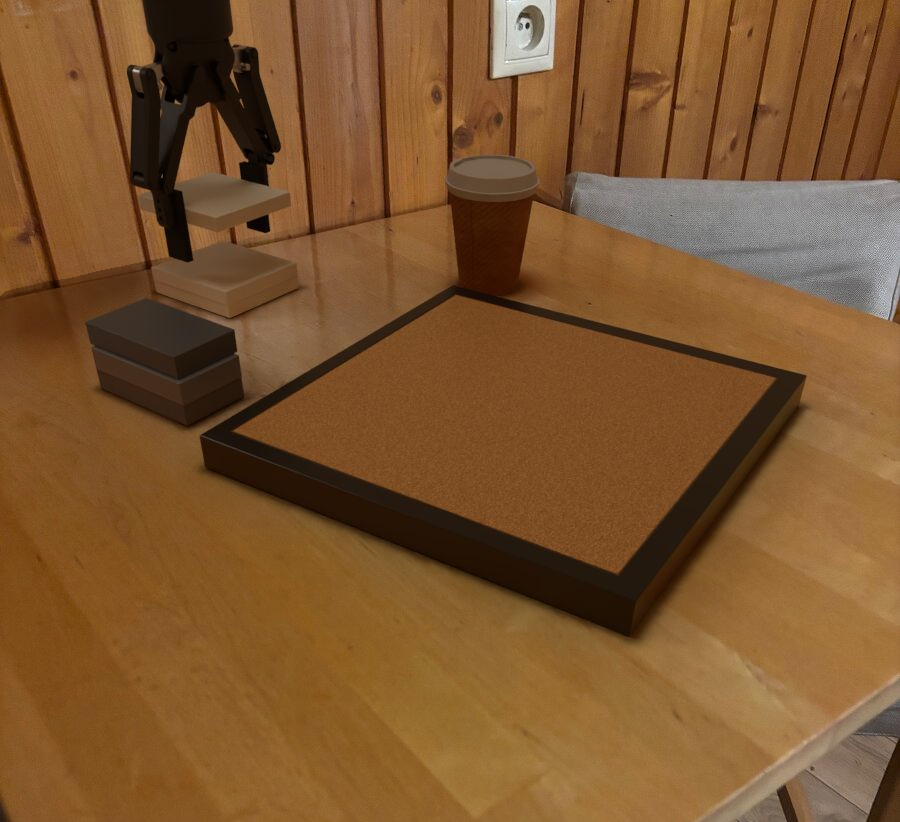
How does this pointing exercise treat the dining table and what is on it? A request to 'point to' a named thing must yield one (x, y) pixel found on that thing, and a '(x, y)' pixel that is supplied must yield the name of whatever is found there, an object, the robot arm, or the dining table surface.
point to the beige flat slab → (223, 201)
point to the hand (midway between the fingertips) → (221, 243)
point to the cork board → (518, 446)
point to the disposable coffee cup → (490, 219)
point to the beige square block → (226, 278)
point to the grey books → (166, 360)
